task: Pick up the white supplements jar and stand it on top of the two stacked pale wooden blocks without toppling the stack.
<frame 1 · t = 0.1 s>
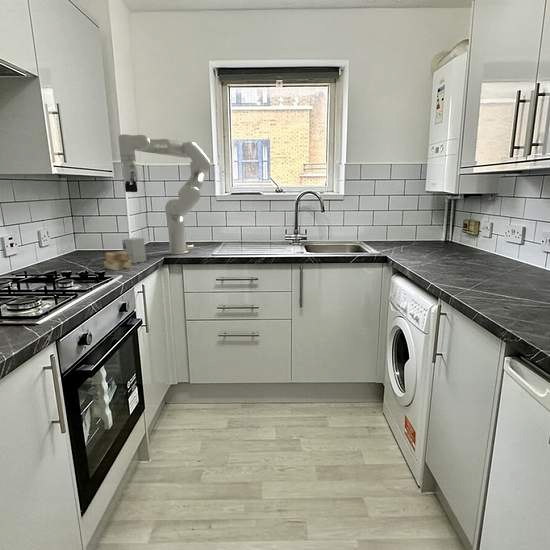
hand: (131, 192, 210), 37 cm above the worktop, tool pointing down, fingers open, 9 cm apart
light bulb box: (134, 257, 221), on the worktop
supplement box: (137, 262, 208), on the worktop
tower base block: (118, 268, 194), on the worktop, touching tower top block
tower top block: (117, 261, 194), point 3 cm above the worktop, touching tower base block
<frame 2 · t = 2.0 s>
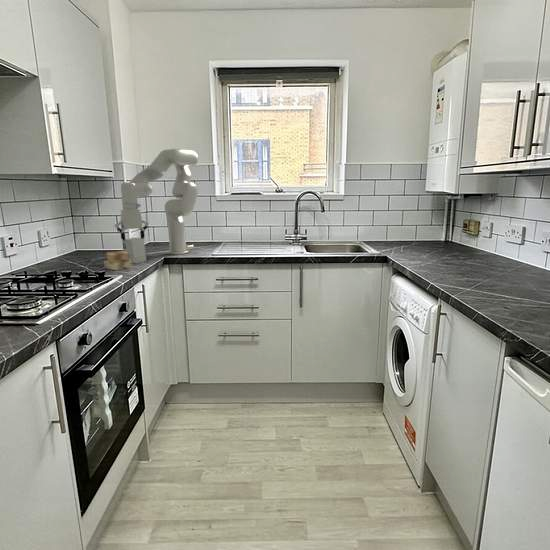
hand: (133, 239, 205), 12 cm above the worktop, tool pointing down, fingers open, 9 cm apart
supplement box: (137, 262, 208), on the worktop, touching gripper
everything else where it was.
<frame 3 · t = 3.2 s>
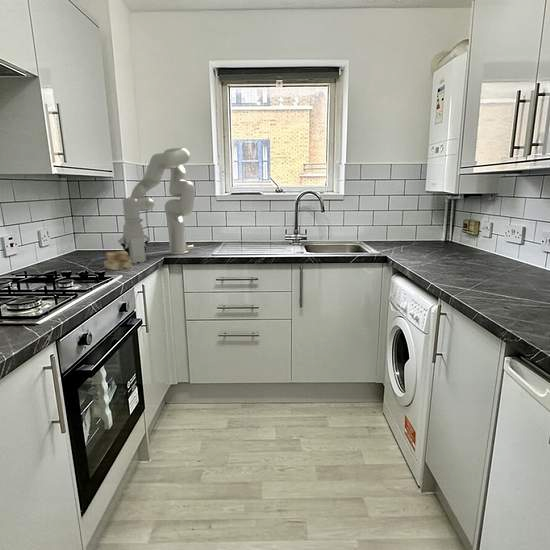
hand: (135, 254, 207), 4 cm above the worktop, tool pointing down, fingers closed on supplement box, 8 cm apart
supplement box: (136, 262, 208), on the worktop, touching gripper
tower base block: (118, 268, 195), on the worktop
tower top block: (118, 260, 193), point 4 cm above the worktop
everything else where it was.
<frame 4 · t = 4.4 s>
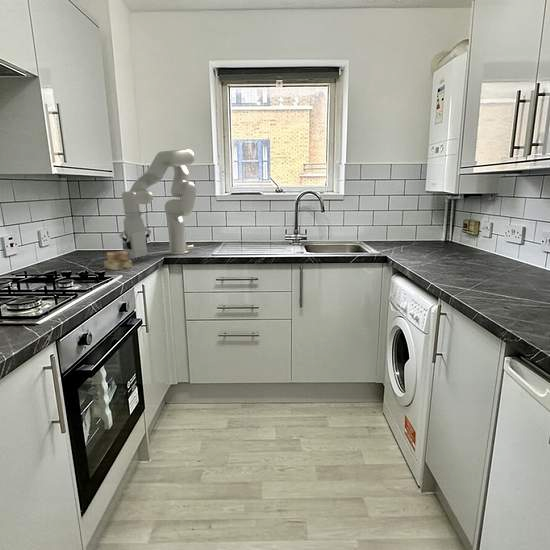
hand: (137, 247, 208), 7 cm above the worktop, tool pointing down, fingers closed on supplement box, 8 cm apart
supplement box: (138, 255, 209), point 3 cm above the worktop, touching gripper
tower base block: (118, 268, 195), on the worktop, touching tower top block
tower top block: (118, 260, 194), point 4 cm above the worktop, touching tower base block
everything else where it was.
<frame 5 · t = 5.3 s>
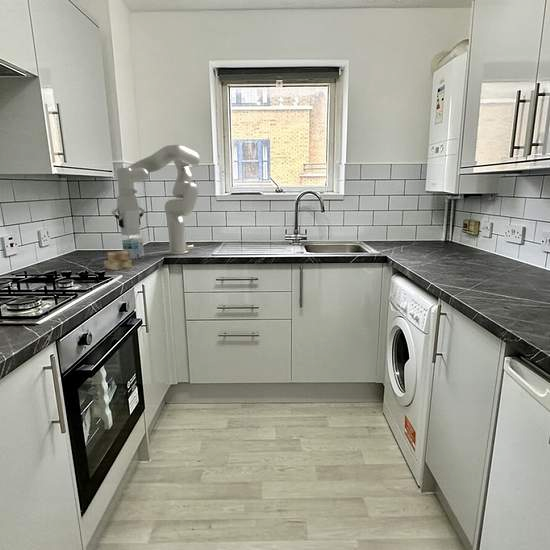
hand: (130, 226, 201), 19 cm above the worktop, tool pointing down, fingers closed on supplement box, 8 cm apart
supplement box: (131, 235, 203), point 15 cm above the worktop, touching gripper
everything else where it was.
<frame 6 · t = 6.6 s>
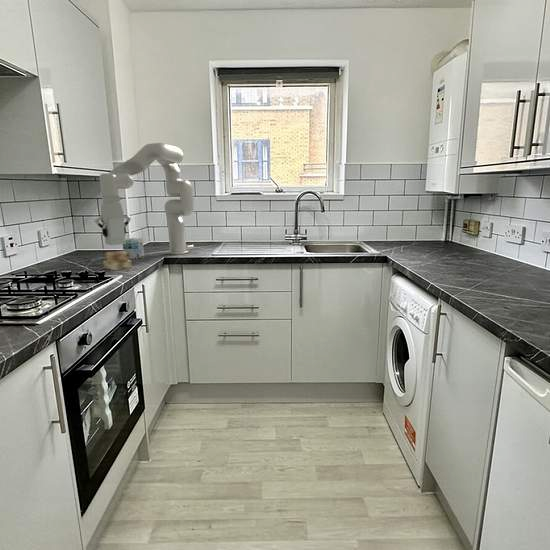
hand: (114, 235, 190), 16 cm above the worktop, tool pointing down, fingers closed on supplement box, 8 cm apart
supplement box: (115, 244, 192), point 12 cm above the worktop, touching gripper
everything else where it was.
when the fingers open (13 cm above the worktop, at t = 8.0 s): supplement box drops 1 cm, resting on tower top block.
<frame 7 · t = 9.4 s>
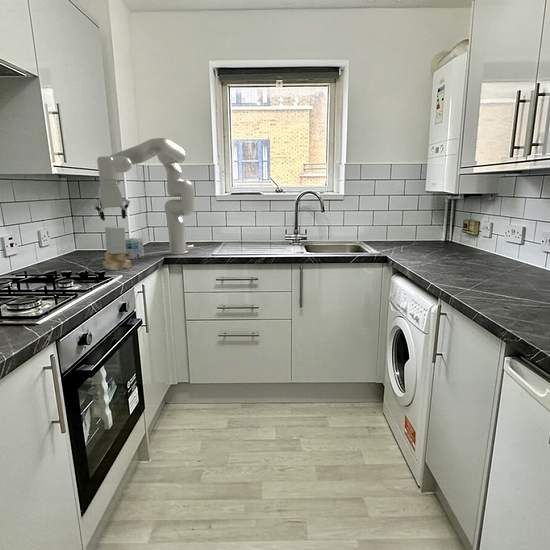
hand: (113, 219, 189), 24 cm above the worktop, tool pointing down, fingers open, 9 cm apart
supplement box: (116, 253, 192), point 8 cm above the worktop, touching tower top block
tower base block: (117, 268, 194), on the worktop
tower top block: (115, 261, 193), point 4 cm above the worktop, touching supplement box
everything else where it was.
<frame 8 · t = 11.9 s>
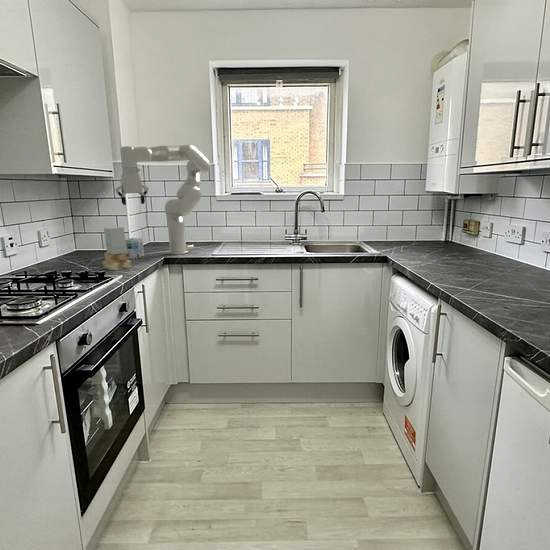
hand: (133, 204, 207), 30 cm above the worktop, tool pointing down, fingers open, 9 cm apart
tower base block: (117, 268, 194), on the worktop, touching tower top block
tower top block: (116, 260, 193), point 4 cm above the worktop, touching supplement box, tower base block
everything else where it was.
at the end: supplement box inside the target area on the tower top block (1.0 cm from its centre), point 3.9 cm above the tower top block's base; supplement box tilted 2°; tower top block moved 1.0 cm from its start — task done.
